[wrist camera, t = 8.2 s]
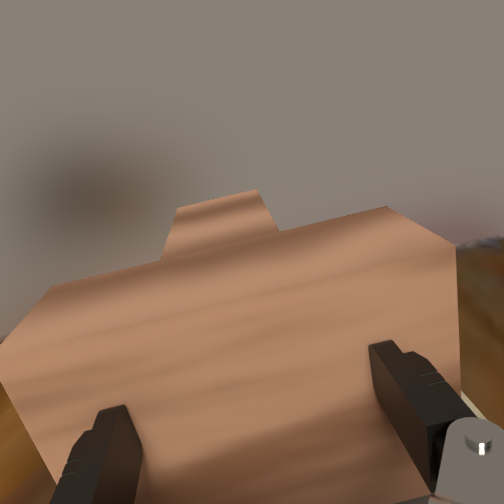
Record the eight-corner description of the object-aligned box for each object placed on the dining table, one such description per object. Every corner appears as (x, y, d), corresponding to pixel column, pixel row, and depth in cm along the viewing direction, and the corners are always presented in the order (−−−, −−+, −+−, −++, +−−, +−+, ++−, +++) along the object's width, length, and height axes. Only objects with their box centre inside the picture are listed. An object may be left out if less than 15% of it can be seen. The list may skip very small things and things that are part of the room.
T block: (465, 485, 15) (455, 245, 12) (106, 575, 15) (-12, 358, 12) (347, 310, 28) (327, 172, 25) (155, 357, 28) (106, 225, 25)
